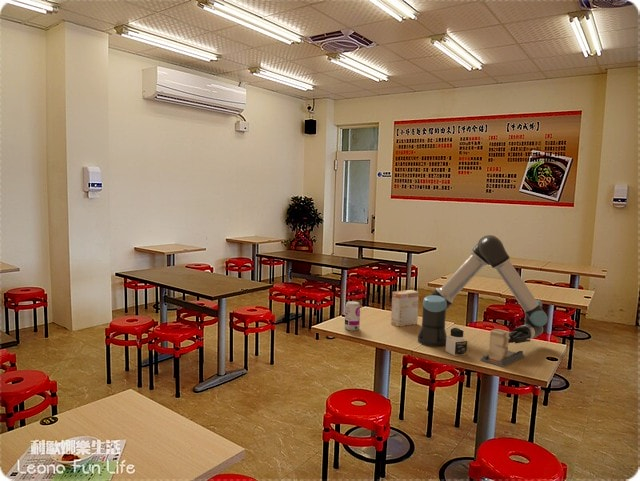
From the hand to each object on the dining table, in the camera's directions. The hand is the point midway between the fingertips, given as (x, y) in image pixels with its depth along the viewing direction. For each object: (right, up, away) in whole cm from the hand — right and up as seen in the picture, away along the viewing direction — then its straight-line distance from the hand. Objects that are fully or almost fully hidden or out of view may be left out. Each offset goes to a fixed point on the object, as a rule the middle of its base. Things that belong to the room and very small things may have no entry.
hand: (502, 342), depth 218 cm
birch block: (-3, -7, -1) cm, 8 cm away
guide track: (+1, -8, +2) cm, 9 cm away
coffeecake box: (-36, -2, +58) cm, 68 cm away
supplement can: (-67, -2, +44) cm, 80 cm away
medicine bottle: (-19, -7, +8) cm, 22 cm away
